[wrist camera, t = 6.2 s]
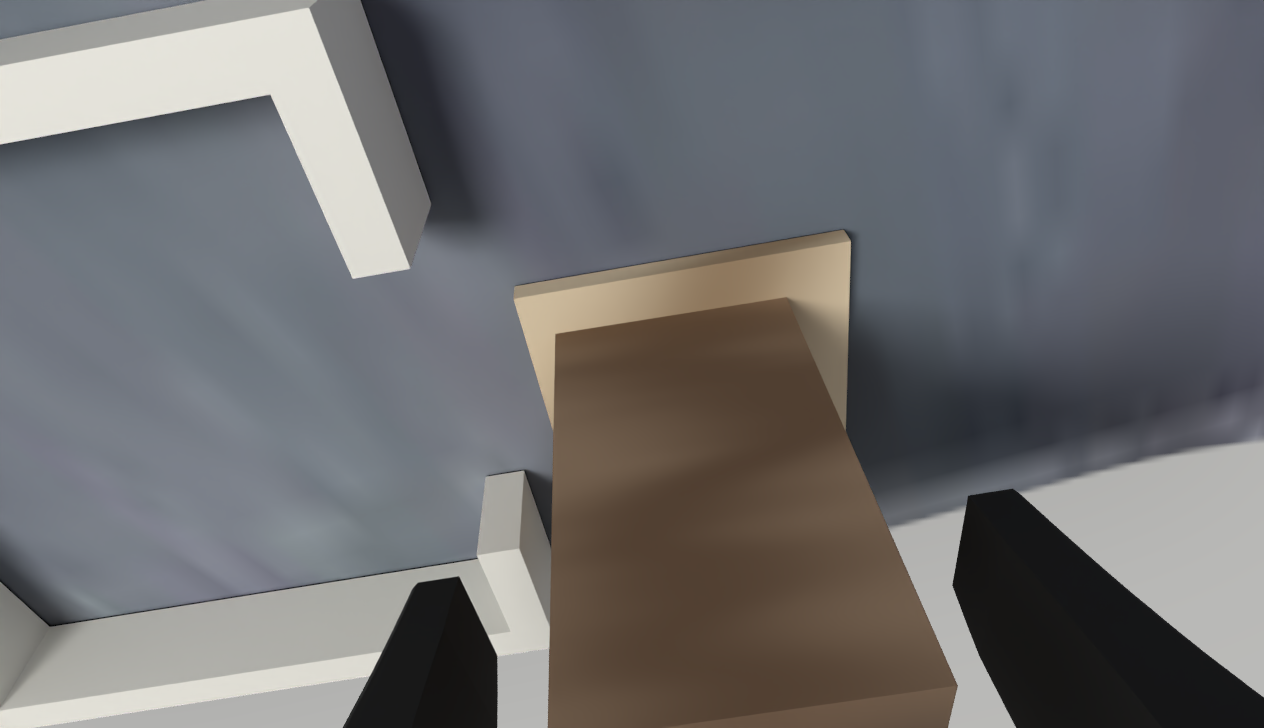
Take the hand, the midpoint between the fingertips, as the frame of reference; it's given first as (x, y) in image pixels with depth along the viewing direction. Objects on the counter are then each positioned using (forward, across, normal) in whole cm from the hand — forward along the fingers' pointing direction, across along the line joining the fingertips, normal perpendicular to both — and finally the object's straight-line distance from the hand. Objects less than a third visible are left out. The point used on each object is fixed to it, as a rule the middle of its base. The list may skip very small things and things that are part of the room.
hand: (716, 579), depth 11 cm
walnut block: (+4, 0, 0) cm, 4 cm away
